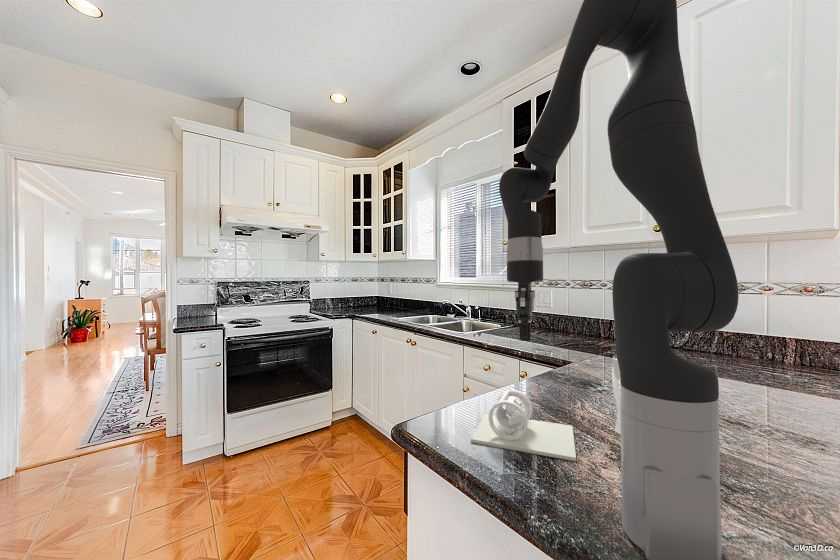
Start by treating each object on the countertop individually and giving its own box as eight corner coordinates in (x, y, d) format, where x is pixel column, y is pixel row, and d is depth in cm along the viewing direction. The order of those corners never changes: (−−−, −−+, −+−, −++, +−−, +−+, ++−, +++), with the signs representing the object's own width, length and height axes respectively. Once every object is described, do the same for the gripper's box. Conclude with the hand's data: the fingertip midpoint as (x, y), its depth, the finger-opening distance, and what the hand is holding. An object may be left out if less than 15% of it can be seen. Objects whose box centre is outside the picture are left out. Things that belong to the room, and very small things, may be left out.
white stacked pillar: (540, 409, 73) (532, 437, 59) (511, 418, 76) (497, 447, 62) (526, 378, 74) (515, 399, 61) (497, 388, 77) (481, 410, 63)
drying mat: (576, 461, 56) (576, 457, 56) (470, 442, 63) (470, 439, 63) (572, 428, 69) (572, 425, 69) (485, 415, 76) (485, 413, 76)
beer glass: (634, 443, 62) (633, 363, 63) (604, 428, 69) (603, 355, 69) (662, 439, 64) (661, 361, 64) (631, 424, 71) (630, 354, 71)
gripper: (541, 256, 65) (542, 346, 64) (544, 262, 77) (544, 337, 76) (502, 257, 68) (503, 343, 67) (510, 263, 80) (511, 335, 79)
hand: (525, 340), depth 72 cm, fingers closed
